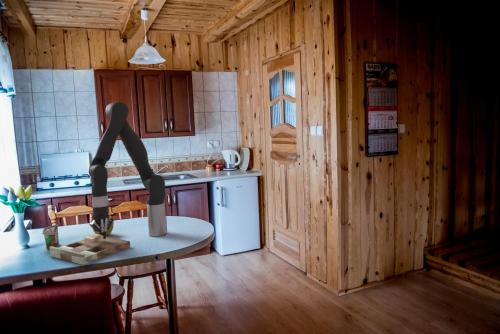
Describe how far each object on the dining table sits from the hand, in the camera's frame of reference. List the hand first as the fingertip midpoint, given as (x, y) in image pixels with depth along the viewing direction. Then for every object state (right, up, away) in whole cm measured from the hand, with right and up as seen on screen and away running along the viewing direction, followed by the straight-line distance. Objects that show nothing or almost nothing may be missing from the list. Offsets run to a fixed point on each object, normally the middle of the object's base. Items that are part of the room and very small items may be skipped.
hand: (103, 239), depth 183 cm
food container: (-27, -5, +3) cm, 28 cm away
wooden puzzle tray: (-3, -5, -6) cm, 8 cm away
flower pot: (-8, -2, +21) cm, 23 cm away
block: (-2, -2, -4) cm, 5 cm away
